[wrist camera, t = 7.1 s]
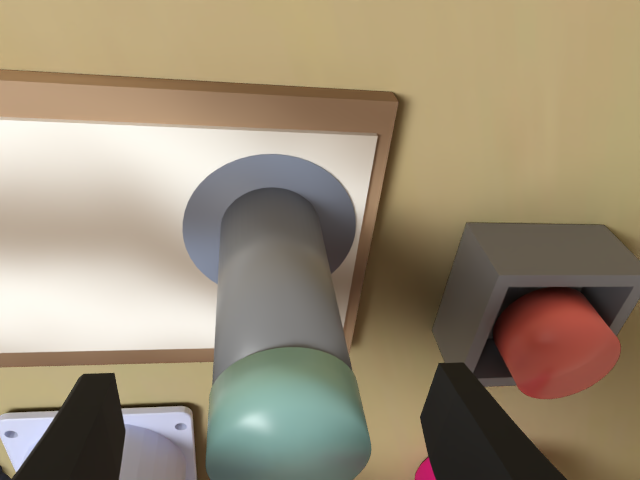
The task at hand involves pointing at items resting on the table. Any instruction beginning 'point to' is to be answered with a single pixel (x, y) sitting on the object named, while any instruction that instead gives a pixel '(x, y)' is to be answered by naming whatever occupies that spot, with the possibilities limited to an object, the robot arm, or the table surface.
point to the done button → (555, 343)
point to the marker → (280, 351)
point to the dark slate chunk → (3, 475)
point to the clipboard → (164, 204)
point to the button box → (527, 284)
